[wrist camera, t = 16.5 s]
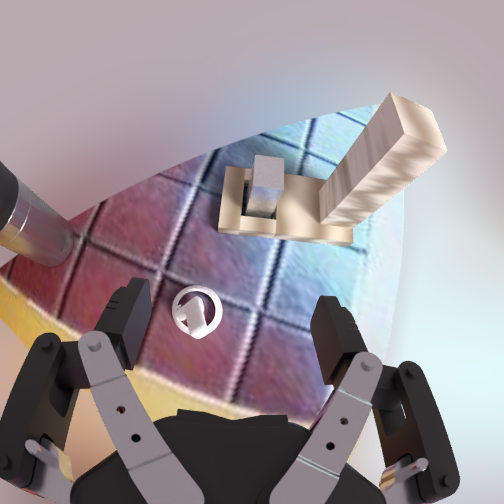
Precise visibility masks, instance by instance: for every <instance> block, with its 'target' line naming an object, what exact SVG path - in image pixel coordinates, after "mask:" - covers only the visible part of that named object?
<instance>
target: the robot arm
mask: <svg viewBox="0 0 504 504" xmlns="http://www.w3.org/2000/svg"><path fill="white" fill-rule="evenodd" d="M73 240H74V234H73V229H72V227H71V225H70V223H69V222H68V221H67V220H65V219H64V218H63V217H62V216H60V215H59V214H58V213H57V212H56V211H55V210H53V209H52V208H51V207H50V206H48V205H47V204H46V203H45V202H44V201H43V200H42V199H40V198H39V197H38V196H37V195H36V194H35V193H34V192H32V191H31V190H30V189H29V188H28V187H27V186H26V185H25V184H23V183H22V182H21V181H20V180H19V179H18V178H17V177H16V176H15V175H14V174H13V173H11V172H10V171H9V170H8V169H7V168H6V167H5V166H4V165H3V163H1V161H0V245H1V246H3V247H5V248H7V249H9V250H12V251H14V252H16V253H18V254H20V255H22V256H24V257H27V258H29V259H31V260H33V261H35V262H37V263H40V264H42V265H44V266H47V267H56V266H58V265H60V264H61V263H63V262H64V261H65V260H66V258H67V257H68V255H69V254H70V252H71V249H72V246H73ZM151 310H152V304H151V295H150V286H149V280H148V279H143V278H136V277H132V279H131V280H130V282H129V284H128V286H127V287H122V286H121V287H120V288H119V289H118V290H116V291H115V292H114V293H113V295H112V296H111V298H110V300H109V302H108V304H107V306H106V308H105V309H104V311H103V313H102V315H101V317H100V319H99V321H98V323H97V325H96V327H95V329H94V331H91V332H88V333H86V334H84V335H83V336H82V337H81V338H80V340H79V341H70V342H61V340H60V338H59V337H58V336H57V335H56V334H54V333H44V334H42V335H40V336H39V337H37V339H36V340H35V341H34V343H33V345H32V347H31V349H30V351H29V353H28V355H27V357H26V359H25V362H24V363H23V366H22V368H21V370H20V372H19V374H18V376H17V379H16V381H15V383H14V386H13V388H12V391H11V393H10V396H9V398H8V401H7V403H6V406H5V409H4V412H3V415H2V417H1V420H0V478H2V479H4V480H6V481H7V482H9V483H11V484H13V485H14V486H16V487H18V488H20V489H22V490H24V491H26V492H29V493H31V494H33V495H37V496H40V497H42V498H46V499H49V500H51V501H54V502H56V503H58V504H432V503H434V502H437V501H439V500H441V499H444V498H446V497H448V496H450V495H452V494H454V493H455V492H456V490H457V489H458V486H459V483H460V476H459V471H458V468H457V465H456V461H455V457H454V454H453V450H452V447H451V445H450V441H449V438H448V435H447V432H446V429H445V426H444V423H443V420H442V418H441V415H440V412H439V410H438V407H437V405H436V402H435V399H434V397H433V395H432V392H431V390H430V387H429V385H428V382H427V380H426V377H425V375H424V373H423V371H422V369H421V368H420V366H418V365H417V364H416V363H414V362H411V361H405V362H402V363H401V364H400V365H399V367H398V368H396V367H390V366H386V365H382V362H381V361H380V359H379V358H378V357H377V356H375V355H374V354H372V353H369V352H368V350H367V348H366V345H365V343H364V341H363V338H362V336H361V334H360V331H359V330H358V327H357V325H356V324H355V320H354V318H353V316H352V314H351V313H350V312H349V311H348V310H347V309H346V308H345V307H341V306H340V303H339V301H338V299H337V297H336V296H320V297H319V299H318V302H317V305H316V308H315V310H314V313H313V316H312V319H311V324H310V329H311V334H312V338H313V342H314V345H315V349H316V353H317V357H318V361H319V365H320V369H321V373H322V377H323V381H324V385H332V384H333V386H334V390H333V391H332V393H331V395H330V396H329V398H328V400H327V401H326V403H325V405H324V406H323V408H322V410H321V411H320V413H319V415H318V416H317V418H316V419H315V421H314V422H313V424H312V425H311V427H310V428H309V429H306V428H304V427H303V426H300V425H298V424H295V423H292V422H288V418H287V415H259V416H254V417H249V418H244V419H238V420H230V419H226V418H223V417H219V416H216V415H213V414H210V413H206V412H200V411H191V410H183V409H178V411H177V415H176V416H169V417H165V418H162V419H159V420H157V421H154V422H152V421H151V419H150V417H149V416H148V414H147V412H146V410H145V409H144V407H143V405H142V403H141V402H140V400H139V398H138V396H137V394H136V392H135V390H134V389H133V387H132V385H131V383H130V381H129V379H128V377H127V375H126V374H125V373H124V371H125V369H127V370H132V371H133V368H134V365H135V362H136V358H137V355H138V352H139V349H140V346H141V343H142V340H143V337H144V334H145V331H146V328H147V325H148V322H149V319H150V316H151ZM89 388H90V390H91V393H92V396H93V398H94V401H95V403H96V406H97V408H98V410H99V413H100V415H101V418H102V420H103V422H104V424H105V426H106V429H107V430H108V433H109V435H110V437H111V439H112V441H113V443H114V445H115V447H116V449H117V450H116V451H115V452H113V453H112V454H111V455H110V456H108V457H107V458H105V459H104V460H102V461H101V462H100V463H98V464H97V465H96V466H94V467H93V468H92V469H90V470H89V471H87V472H86V473H84V474H83V475H81V476H80V477H79V478H78V479H77V480H76V481H75V480H74V478H73V476H72V473H71V462H70V459H69V457H68V456H67V455H66V453H65V452H64V447H65V442H66V438H67V433H68V430H69V426H70V422H71V418H72V414H73V410H74V407H75V404H76V400H77V397H78V393H79V390H80V389H89ZM401 404H402V406H403V409H404V412H405V416H406V419H405V416H404V412H403V409H402V406H401ZM371 408H372V410H373V414H374V418H375V422H376V426H377V430H378V434H379V439H380V443H381V447H382V452H383V457H384V462H385V467H386V469H385V470H384V472H383V473H382V476H381V481H380V483H379V486H380V489H379V488H378V487H376V486H375V485H374V484H372V483H371V482H370V481H369V480H367V479H366V478H365V477H363V476H362V475H361V474H360V473H359V472H357V471H356V470H355V469H354V468H352V467H351V466H350V465H349V464H348V463H346V462H347V460H348V458H349V456H350V454H351V452H352V450H353V448H354V446H355V444H356V442H357V440H358V438H359V436H360V434H361V431H362V429H363V427H364V425H365V422H366V420H367V418H368V416H369V413H370V411H371Z"/></svg>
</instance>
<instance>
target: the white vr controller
mask: <svg viewBox="0 0 504 504" xmlns="http://www.w3.org/2000/svg"><path fill="white" fill-rule="evenodd" d="M191 291H201V292H204V293H206V294H207V295H209V296H210V297H211V299H212V300H213V302H214V304H215V316H214V319H213V321H212V322H211V323H210V324H209V325H208V326H207V325H206V321H205V318H204V314H203V311H204V306H203V302H202V300H201V298H199V297H198V296H196V297H194V298H192V299H191V300H190V301H189V302H188V303H186V304H185V305H184V306H182V307H181V304H180V305H178V303H179V300H180V299H181V297H182V296H183V295H185V294H186V293H188V292H191ZM177 309H178V310H177ZM172 315H173V319H174V321H175V323H176V325H177V326H178V327H179V328H180V329H181V330H182V331H183V332H185V333H187V334H189V335H191V336H193V337H194V338H197V339H200V338H202V337H204V336H205V335H206V334H208V333H210V332H212V331H213V330H214V329H215V328H216V327H217V326H218V324H219V323H220V320H221V318H222V304H221V302H220V299H219V298H218V296H217V295H216V294H215V293H214V292H213V291H212V290H211V289H209V288H207V287H205V286H200V285H194V286H189V287H187V288H184V289H183V290H181V291H180V292H179V293H178V294H177V296H176V297H175V299H174V301H173V305H172ZM185 319H187V324H188V327H187V326H185V325H184V324H183V323H182V322H181V321H183V320H185Z"/></svg>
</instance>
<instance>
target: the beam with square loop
mask: <svg viewBox="0 0 504 504" xmlns="http://www.w3.org/2000/svg"><path fill="white" fill-rule="evenodd" d="M446 152H447V149H446V146H445V143H444V140H443V138H442V135H441V132H440V130H439V127H438V125H437V122H436V120H435V117H434V115H433V113H432V111H431V110H429V109H427V108H425V107H423V106H421V105H419V104H417V103H414V102H412V101H410V100H408V99H406V98H403V97H401V96H399V95H396V94H394V93H391V92H390V93H389V94H388V96H387V97H386V99H385V100H384V102H383V103H382V104H381V106H380V107H379V109H378V110H377V111H376V113H375V114H374V116H373V117H372V118H371V120H370V121H369V123H368V124H367V126H366V127H365V128H364V130H363V131H362V133H361V134H360V135H359V137H358V138H357V140H356V141H355V142H354V144H353V145H352V147H351V148H350V149H349V151H348V152H347V154H346V155H345V156H344V158H343V159H342V161H341V162H340V163H339V165H338V166H337V167H336V169H335V170H334V172H333V173H332V174H331V176H330V177H329V178H328V180H322V179H317V178H311V177H305V176H299V175H293V174H286V173H284V191H283V193H282V195H281V197H280V199H279V201H278V203H277V205H276V207H275V209H274V218H273V219H266V218H257V217H248V216H241V210H242V200H243V189H244V187H248V184H249V180H250V175H251V171H252V169H249V168H240V167H231V166H226V171H225V178H224V185H223V193H222V201H221V209H220V217H219V225H218V233H226V234H236V235H246V236H255V237H265V238H274V239H283V240H292V241H301V242H310V243H318V244H327V245H335V246H344V247H348V246H349V245H351V244H352V243H353V228H354V227H355V226H357V225H358V224H359V223H361V222H362V221H363V220H364V219H366V218H367V217H368V216H370V215H371V214H372V213H373V212H375V211H376V210H377V209H379V208H380V207H381V206H382V205H384V204H385V203H386V202H387V201H389V200H390V199H391V198H392V197H394V196H395V195H396V194H397V193H399V192H400V191H401V190H402V189H404V188H405V187H406V186H407V185H408V184H410V183H411V182H412V181H413V180H414V179H416V178H417V177H418V176H419V175H420V174H422V173H423V172H424V171H425V170H426V169H428V168H429V167H430V166H431V165H432V164H434V163H435V162H436V161H437V160H438V159H439V158H441V157H442V156H443V155H444V154H445V153H446Z"/></svg>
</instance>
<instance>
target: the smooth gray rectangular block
mask: <svg viewBox="0 0 504 504" xmlns="http://www.w3.org/2000/svg"><path fill="white" fill-rule="evenodd" d="M283 191H284V158H277V157H270V156H263V155H255V158H254V162H253V166H252V171H251V175H250V180H249V184H248V188H247V195H246V207H245V216H248V217H257V218H266V219H270V217H271V215H272V213H273V211H274V209H275V207H276V205H277V203H278V201H279V199H280V197H281V195H282V193H283Z"/></svg>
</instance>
